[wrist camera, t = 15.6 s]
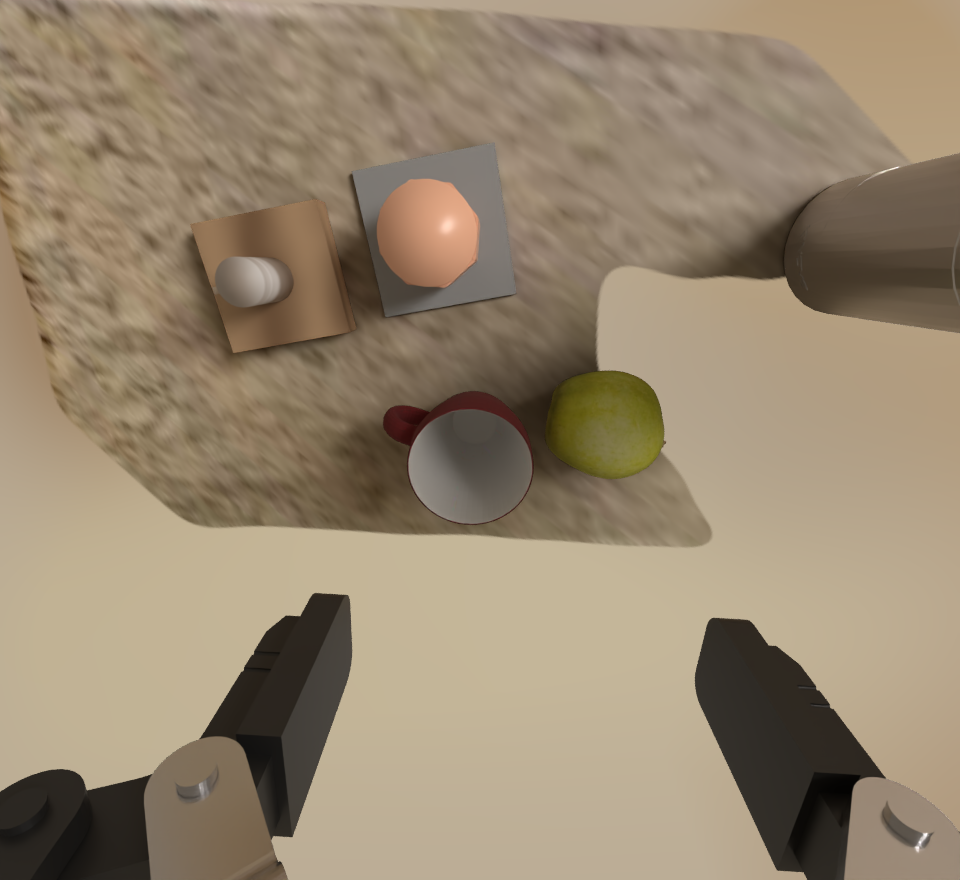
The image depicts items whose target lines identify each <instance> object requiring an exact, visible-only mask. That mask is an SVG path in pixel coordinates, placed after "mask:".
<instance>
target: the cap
mask: <svg viewBox="0 0 960 880" xmlns="http://www.w3.org/2000/svg"><path fill="white" fill-rule="evenodd" d="M380 209H381V210H380V214H379V217H378V222H377V240H378V245H379V252H380V254H381V255H382V256H383V258H384V260H385V262H386V263H387V265H388V266H389V267H390V269H391V270H392V271H393V272H394V273H395V274H396V275H398V276H399V277H400V278H401V279H402V280H403V281H404V282H405V283H406V284H407V285H418V286H423V287H442V288H445V287H448V286H449V285H451V284H453V283H454V282H455V281H456V280H457V279H458V278H459V277H461V276H462V275H463V274H464V273H465V272H466V271H467V270H468V269H469V268H471V267H472V266H473V265H474V264H475V263H476V262H477V261H478V248H479V234H480V222H479V218H478V216H477V215H476V213H475V212H474V211H473V210H472V208H471V207H470V206H469V204H468V203H467V202H466V200H465V199H464V197H463V196H462V195H461V194H460V193H459V192H458V190H457V189H456V188H455V187H454V185H453V184H451V183H449V182H441V181H438V180H434V179H416V180H414V179H410V180H408V181H407V182H406V183H405V184H403V185H401V186H400V187H398V188H397V189H395V190H394V191H393V192H392V193H391V194H390V195H389V197H388V198H387V199H386V201H385V202H384V204H383V206H382V207H381V208H380ZM476 260H477V261H476Z"/></svg>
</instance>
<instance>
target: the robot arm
mask: <svg viewBox="0 0 960 880" xmlns="http://www.w3.org/2000/svg"><path fill="white" fill-rule="evenodd" d="M784 268H785V275H786V278H787V281H788V284H789V287H790V288H791V290H792V292H793V293H794V295H795V296H796V297H797V298H798V299H799V300H800V301H801V302H802V303H803V304H804V305H806V306H808V307H810V308H811V309H813V310H816V311H819V312H823V313H827V314H834V315H841V316H847V317H854V318H860V319H866V320H873V321H880V322H886V323H893V324H900V325H907V326H914V327H921V328H928V329H934V330H941V331H948V332H955V333H960V153H958V154H954V155H950V156H945V157H941V158H937V159H932V160H928V161H924V162H919V163H915V164H911V165H907V166H902V167H897V168H893V169H889V170H884V171H880V172H876V173H872V174H867V175H863V176H859V177H855V178H850V179H847V180H844V181H842V182H839V183H837V184H834V185H832V186H831V187H829V188H828V189H826V190H824V191H823V192H821V193H820V194H819V195H817V196H816V197H815V198H814V199H813V200H812V201H811V202H810V203H809V204H808V205H807V206H806V207H805V209H804V210H803V211H802V212H801V214H800V215H799V216H798V218H797V220H796V221H795V223H794V225H793V227H792V229H791V231H790V234H789V237H788V240H787V243H786V247H785V255H784ZM351 660H352V636H351V613H350V599H349V596H348V595H338V594H321V593H314V594H313V595H312V596H311V598H310V599H309V601H308V603H307V605H306V607H305V609H304V611H303V612H302V614H301V616H285V617H284V618H282V619H281V620H280V621H279V622H278V623H276V624H275V625H274V626H273V627H271V628H270V629H269V630H268V631H267V632H266V633H265V635H264V636H263V638H262V639H261V641H260V643H259V644H258V646H257V648H256V649H255V651H254V655H252V656H251V657H250V659H249V660H248V662H247V664H246V665H245V667H244V671H243V672H241V673H240V675H239V677H238V678H237V680H236V681H235V683H234V685H233V686H232V688H231V690H230V691H229V693H228V695H227V696H226V698H225V699H224V701H223V703H222V704H221V706H220V707H219V709H218V711H217V712H216V714H215V715H214V717H213V719H212V720H211V722H210V724H209V725H208V727H207V728H206V730H205V732H204V733H203V735H202V736H201V738H200V739H199V740H196V741H193V742H191V743H189V744H187V745H185V746H183V747H181V748H179V749H178V750H176V751H175V752H173V753H172V754H171V755H170V756H168V757H167V758H166V759H165V760H164V761H163V762H162V763H161V764H160V765H159V766H158V767H157V769H156V770H155V771H154V773H153V774H151V775H148V776H145V777H142V778H138V779H135V780H130V781H126V782H122V783H118V784H113V785H109V786H105V787H100V788H96V789H92V790H88V791H87V790H86V787H85V784H84V781H83V779H82V777H81V776H80V775H79V774H77V773H76V772H73V771H70V770H64V769H57V770H49V771H44V772H40V773H37V774H34V775H31V776H29V777H27V778H24V779H22V780H20V781H18V782H16V783H14V784H12V785H11V786H9V787H7V788H6V789H4V790H2V791H1V792H0V880H288V878H287V875H286V872H285V870H284V867H283V865H282V863H281V862H278V860H277V858H276V855H275V852H274V849H273V845H272V842H271V840H272V837H273V836H283V837H293V834H294V831H295V828H296V825H297V823H298V820H299V817H300V814H301V811H302V808H303V805H304V802H305V800H306V797H307V794H308V791H309V788H310V786H311V783H312V780H313V777H314V774H315V771H316V768H317V766H318V763H319V760H320V757H321V754H322V751H323V748H324V746H325V743H326V740H327V737H328V734H329V732H330V728H331V726H332V723H333V720H334V717H335V714H336V711H337V709H338V706H339V703H340V700H341V697H342V694H343V692H344V689H345V686H346V683H347V680H348V677H349V672H350V667H351ZM695 687H696V694H697V697H698V701H699V703H700V706H701V708H702V710H703V712H704V714H705V716H706V719H707V721H708V723H709V725H710V727H711V729H712V732H713V734H714V736H715V738H716V740H717V742H718V744H719V747H720V749H721V751H722V753H723V755H724V757H725V760H726V762H727V764H728V766H729V768H730V770H731V773H732V775H733V777H734V779H735V781H736V783H737V785H738V788H739V790H740V792H741V794H742V796H743V798H744V801H745V802H746V805H747V807H748V809H749V811H750V813H751V815H752V818H753V820H754V822H755V824H756V826H757V828H758V831H759V833H760V835H761V837H762V839H763V841H764V843H765V846H766V848H767V850H768V852H769V854H770V856H771V859H772V861H773V863H774V865H775V867H776V869H777V870H778V871H794V872H804V874H805V876H806V878H807V880H960V832H959V831H958V830H957V828H956V827H955V826H954V825H953V823H952V822H951V821H950V820H949V819H948V818H947V817H946V816H945V814H943V813H942V812H941V811H940V810H939V809H938V808H937V807H936V806H935V805H933V804H932V803H931V802H930V801H928V800H927V799H926V798H924V797H922V796H921V795H920V794H918V793H917V792H915V791H913V790H911V789H910V788H908V787H906V786H904V785H901V784H899V783H897V782H894V781H891V780H888V779H886V778H885V776H884V775H883V774H882V773H881V771H880V770H879V769H878V767H877V766H876V765H875V763H874V762H873V761H872V759H871V758H870V757H869V755H868V754H867V753H866V751H865V750H864V749H863V747H862V746H861V745H860V744H859V742H858V741H857V740H856V738H855V737H854V736H853V734H852V733H851V732H850V730H849V729H848V728H847V727H846V725H845V724H844V722H843V721H842V720H841V719H840V717H839V716H838V715H837V713H836V712H835V711H834V709H831V708H830V704H829V703H828V701H827V700H826V699H825V697H824V696H823V695H822V693H821V692H820V691H817V690H816V686H815V684H814V683H813V682H812V680H811V679H810V678H809V676H808V675H807V674H806V672H805V671H804V670H803V668H802V667H801V666H800V665H799V664H798V663H797V662H796V661H794V660H793V659H792V658H791V657H789V656H788V655H787V654H786V653H784V652H783V651H782V650H781V649H779V648H778V647H777V646H769V645H768V644H767V643H766V641H765V640H764V639H763V637H762V636H761V634H760V633H759V632H758V630H757V629H756V627H755V626H754V625H753V624H752V622H750V621H748V620H741V619H724V618H712V619H710V620H709V622H708V624H707V627H706V632H705V636H704V640H703V644H702V648H701V652H700V656H699V660H698V664H697V668H696V673H695Z"/></svg>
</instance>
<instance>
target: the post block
mask: <svg viewBox="0 0 960 880" xmlns="http://www.w3.org/2000/svg"><path fill="white" fill-rule="evenodd" d="M190 225H191V228H192V231H193V234H194V237H195V240H196V243H197V246H198V249H199V252H200V255H201V258H202V261H203V264H204V267H205V270H206V273H207V276H208V279H209V282H210V285H211V288H212V291H213V294H214V297H215V300H216V303H217V306H218V309H219V312H220V315H221V318H222V320H223V323H224V326H225V329H226V332H227V335H228V338H229V341H230V344H231V347H232V350H233V353H237V352H242V351H248V350H253V349H259V348H265V347H270V346H276V345H281V344H287V343H293V342H298V341H304V340H309V339H315V338H321V337H326V336H332V335H337V334H343V333H349V332H351V331H353V330H355V329H356V325H355V321H354V317H353V313H352V309H351V305H350V301H349V297H348V293H347V289H346V285H345V281H344V277H343V273H342V269H341V265H340V261H339V257H338V253H337V249H336V245H335V241H334V237H333V233H332V229H331V225H330V221H329V217H328V213H327V209H326V205H325V202H322V201H319V200H317V199H314V200H309V201H304V202H299V203H294V204H289V205H284V206H279V207H274V208H269V209H264V210H259V211H254V212H249V213H244V214H239V215H234V216H229V217H224V218H219V219H214V220H209V221H204V222H199V223H194V224H190Z"/></svg>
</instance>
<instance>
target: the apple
mask: <svg viewBox="0 0 960 880" xmlns="http://www.w3.org/2000/svg"><path fill="white" fill-rule="evenodd" d="M545 441H546V444H547V446H548V448H549V449H550V450H551V452H552V453H553V454H554V455H555V456H557V457H558V458H559V459H561V460H562V461H564V462H565V463H567V464H568V465H570V466H572V467H574V468H576V469H578V470H580V471H582V472H584V473H586V474H589V475H592V476H595V477H599V478H605V479H619V478H625V477H629V476H632V475H634V474H636V473H638V472H640V471H642V470H644V469H645V468H647V467H648V466H649V465H650V464H651V463H652V462H653V461H654V460H655V459H656V458H657V456H658V454H659V453H660V450H661V448H662V447H663V445H664V444H665V443H666V442H665V441H664V425H663V419H662V412H661V407H660V404H659V401H658V398H657V396H656V394H655V392H654V390H653V389H652V388H651V387H650V386H649V385H648V384H647V383H646V382H645V381H643V380H642V379H640V378H638V377H636V376H634V375H631V374H628V373H625V372H620V371H597V372H590V373H585V374H581V375H578V376H574V377H572V378H569V379H567V380H565V381H563V382H562V383H560V384H559V385H558V386H557V387H556V388H555V390H554V392H553V395H552V402H551V405H550V408H549V411H548V417H547V423H546V428H545Z"/></svg>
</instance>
